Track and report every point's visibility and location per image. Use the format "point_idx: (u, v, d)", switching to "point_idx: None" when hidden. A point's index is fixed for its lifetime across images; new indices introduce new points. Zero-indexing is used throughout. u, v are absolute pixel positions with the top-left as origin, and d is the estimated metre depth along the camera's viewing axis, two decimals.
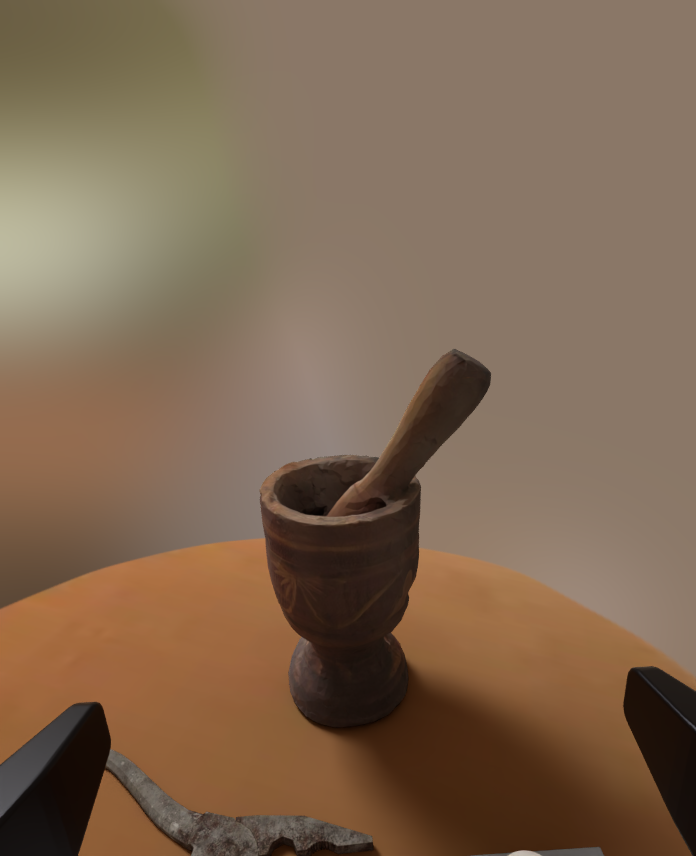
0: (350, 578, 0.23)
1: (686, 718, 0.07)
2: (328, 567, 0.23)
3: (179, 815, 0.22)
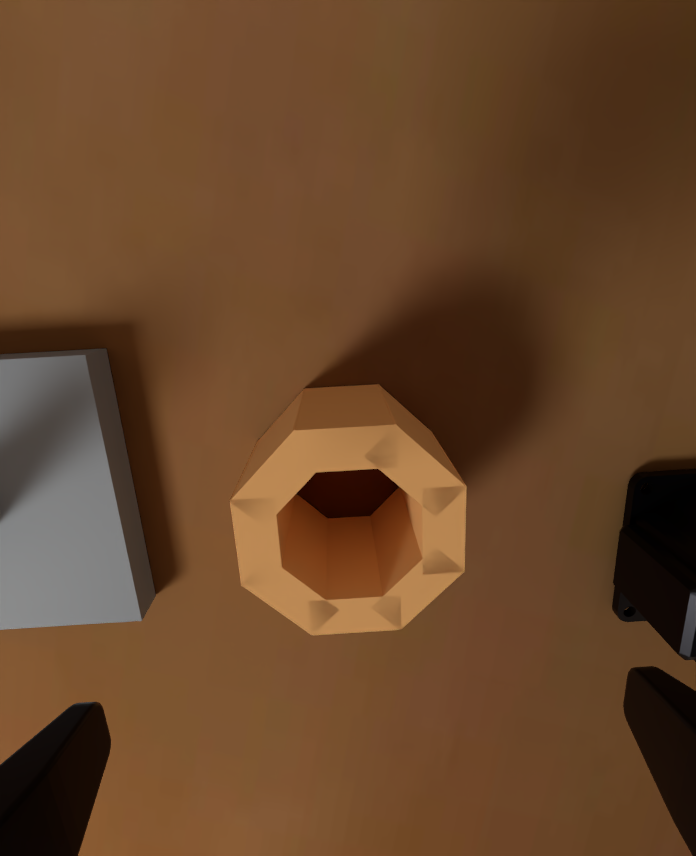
0: None
1: (686, 718, 0.07)
2: None
3: None
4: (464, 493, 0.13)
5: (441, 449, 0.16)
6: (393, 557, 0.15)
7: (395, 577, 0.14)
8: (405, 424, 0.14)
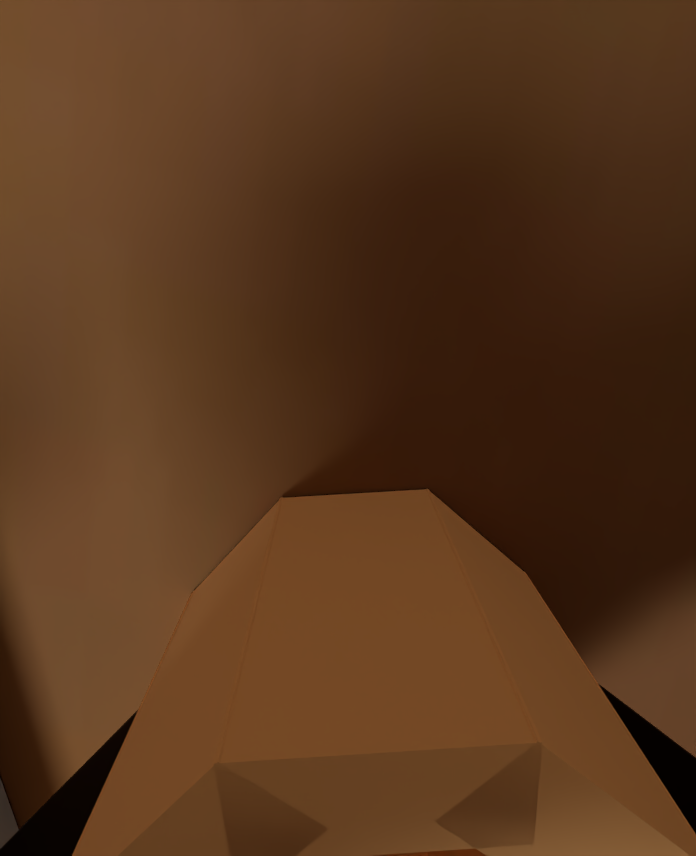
0: None
1: None
2: None
3: None
4: None
5: (576, 656, 0.07)
6: None
7: None
8: (525, 656, 0.05)
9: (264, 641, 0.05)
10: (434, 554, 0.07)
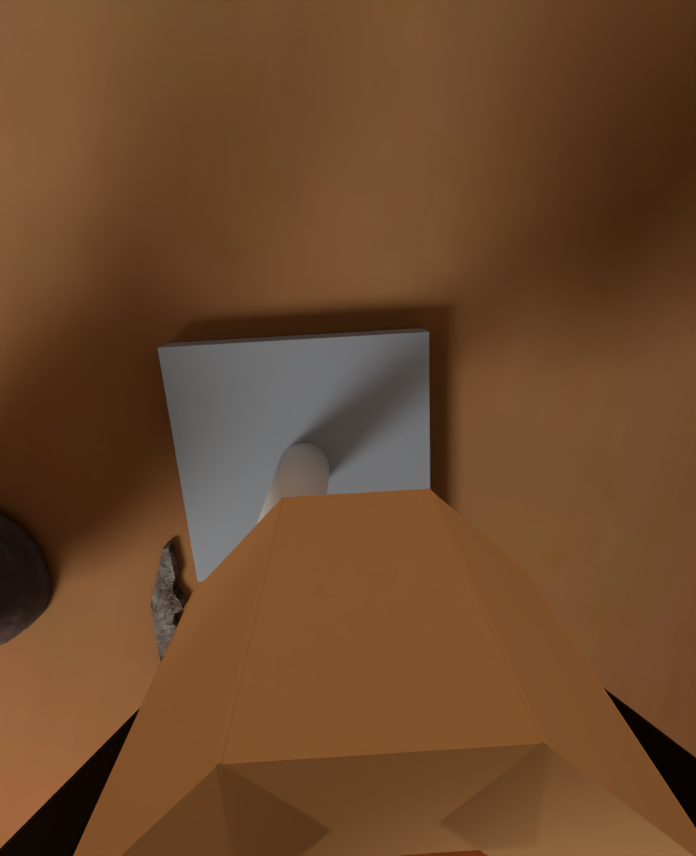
0: None
1: None
2: None
3: None
4: None
5: (579, 656, 0.07)
6: None
7: None
8: (529, 656, 0.05)
9: (266, 641, 0.05)
10: (436, 554, 0.07)
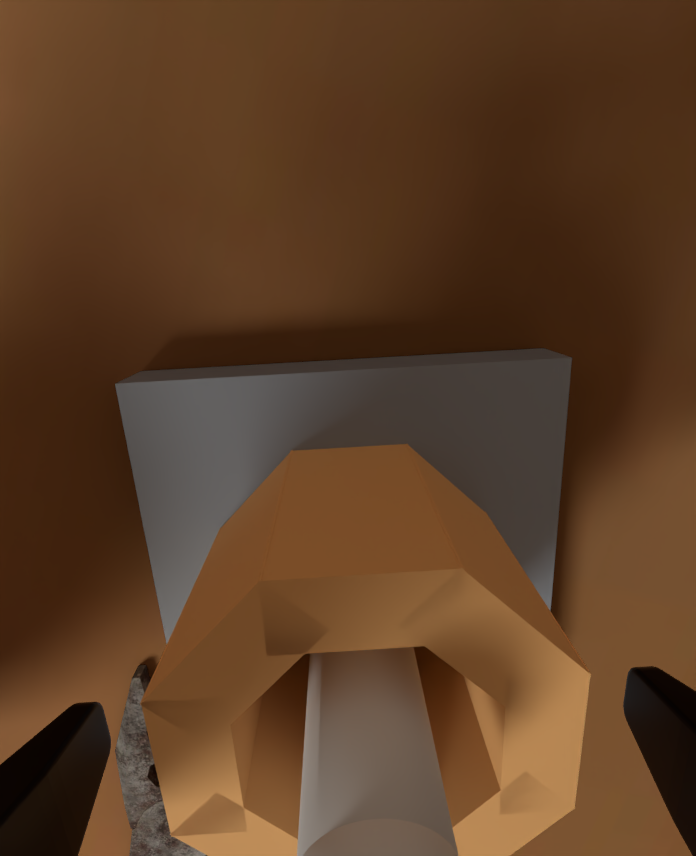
0: None
1: (686, 718, 0.07)
2: None
3: None
4: (585, 684, 0.07)
5: (515, 561, 0.10)
6: (439, 752, 0.09)
7: None
8: (467, 541, 0.08)
9: (285, 528, 0.08)
10: (407, 482, 0.09)
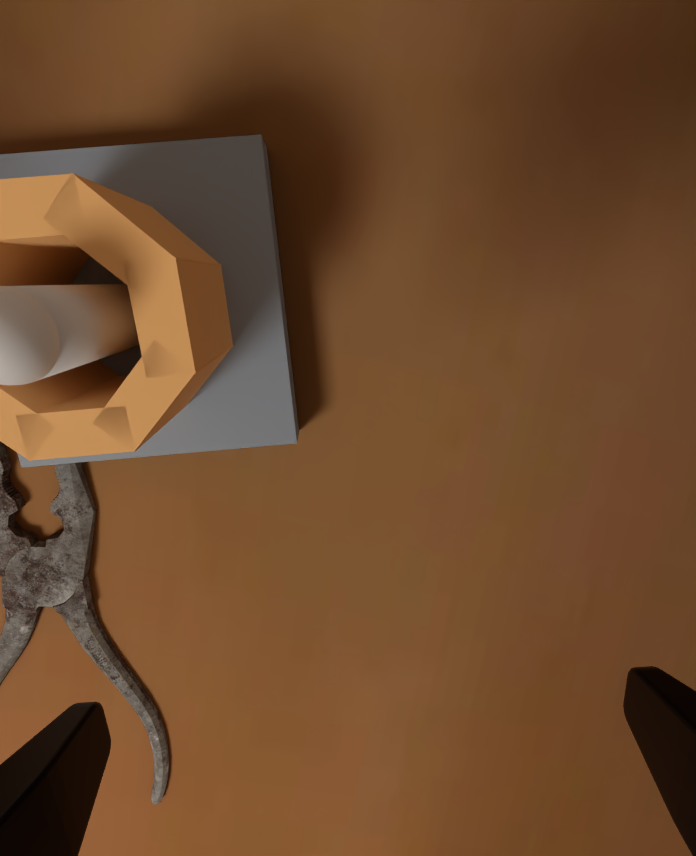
0: None
1: (686, 718, 0.07)
2: None
3: (12, 628, 0.21)
4: (175, 268, 0.11)
5: (200, 259, 0.14)
6: None
7: None
8: (123, 204, 0.12)
9: None
10: None
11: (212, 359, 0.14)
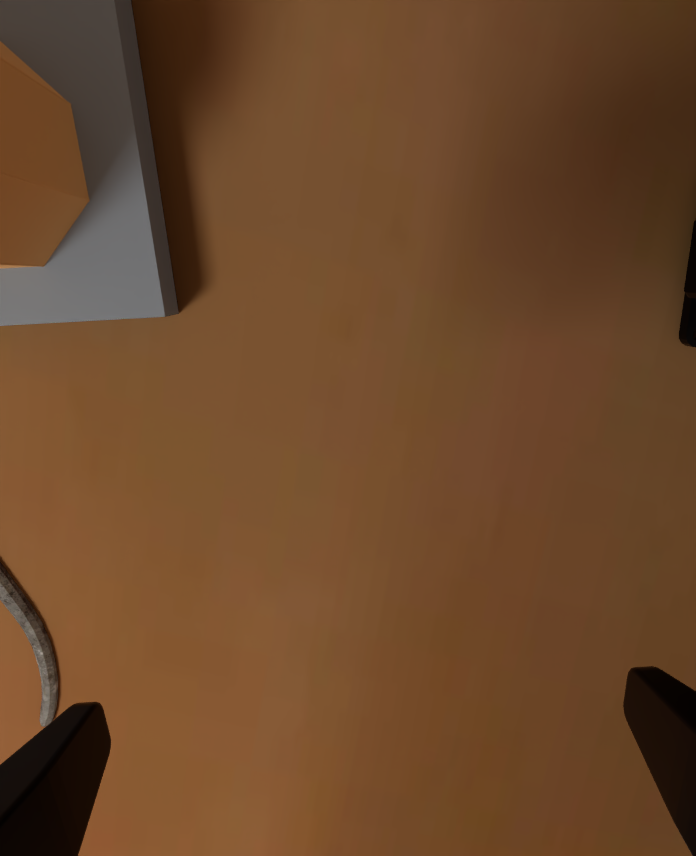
0: None
1: (686, 718, 0.07)
2: None
3: None
4: None
5: (20, 69, 0.12)
6: None
7: None
8: None
9: None
10: None
11: (29, 180, 0.12)
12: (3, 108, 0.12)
